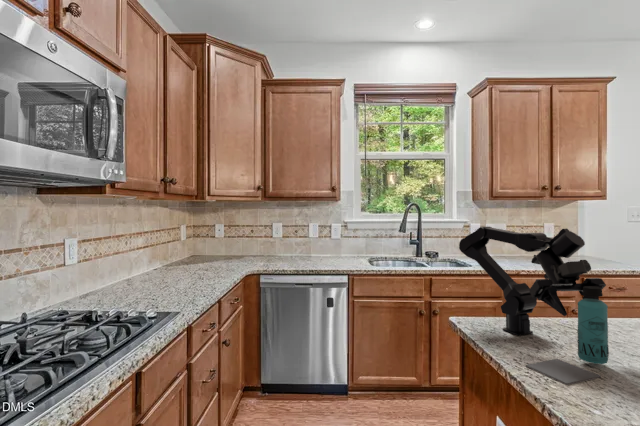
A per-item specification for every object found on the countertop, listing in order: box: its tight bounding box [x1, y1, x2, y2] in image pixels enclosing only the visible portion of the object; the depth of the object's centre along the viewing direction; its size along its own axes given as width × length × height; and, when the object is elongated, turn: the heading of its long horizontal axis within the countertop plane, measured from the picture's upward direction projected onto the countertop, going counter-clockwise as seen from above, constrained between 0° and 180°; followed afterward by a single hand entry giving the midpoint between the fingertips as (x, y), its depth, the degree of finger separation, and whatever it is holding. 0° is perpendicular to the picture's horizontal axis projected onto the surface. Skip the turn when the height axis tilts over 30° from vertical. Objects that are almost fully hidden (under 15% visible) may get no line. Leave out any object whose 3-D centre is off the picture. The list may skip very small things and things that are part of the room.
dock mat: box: [525, 358, 602, 386], centre depth 91 cm, size 11×11×1 cm
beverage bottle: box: [576, 286, 610, 365], centre depth 94 cm, size 6×7×20 cm
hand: (582, 314), depth 98 cm, fingers open, 9 cm apart
